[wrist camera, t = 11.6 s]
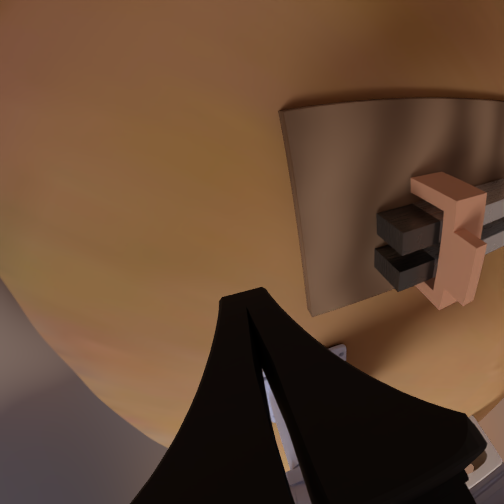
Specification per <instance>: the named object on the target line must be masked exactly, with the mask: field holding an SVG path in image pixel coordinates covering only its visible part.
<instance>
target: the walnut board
mask: <svg viewBox="0 0 504 504" xmlns="http://www.w3.org/2000/svg"><path fill="white" fill-rule="evenodd" d="M279 117H280V122H281V128H282V133H283V139H284V144H285V150H286V156H287V162H288V168H289V174H290V181H291V187H292V194H293V200H294V207H295V214H296V221H297V228H298V235H299V242H300V250H301V257H302V265H303V273H304V282H305V290H306V299H307V308H308V310H309V312H310V314H311V316H312V317H314V316H317V315H320V314H323V313H327V312H330V311H333V310H336V309H339V308H342V307H345V306H348V305H350V304H353V303H356V302H359V301H362V300H365V299H368V298H370V297H373V296H376V295H379V294H381V293H384V292H387V291H390V290H392V289H395V288H394V287H393V286H392V285H391V284H390V283H389V282H388V281H387V280H386V279H385V278H384V277H383V276H382V275H381V273H380V272H379V271H378V270H377V269H376V268H375V267H374V249H375V248H378V247H381V246H385V245H388V243H386V242H385V241H384V240H383V239H382V238H381V237H379V236H378V235H377V220H376V213H380V212H384V211H387V210H391V209H394V208H398V207H402V206H405V205H409V204H413V203H416V202H420V201H423V200H424V199H422V198H420V197H418V196H417V195H415V194H413V193H411V178H412V177H417V176H422V175H427V174H432V173H437V172H444V173H446V174H448V175H451V176H453V177H455V178H457V179H459V180H462V181H464V182H466V183H468V184H470V185H472V186H474V187H475V186H478V185H482V184H486V183H489V182H493V181H497V180H500V179H504V101H497V100H485V99H470V98H390V99H373V100H360V101H349V102H339V103H330V104H322V105H314V106H307V107H300V108H294V109H287V110H281V111H279Z"/></svg>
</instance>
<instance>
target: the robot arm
mask: <svg viewBox="0 0 504 504" xmlns="http://www.w3.org/2000/svg"><path fill="white" fill-rule="evenodd" d="M271 420H272V422H274V423H276V424H277V427H278V431H279V434H280V437H281V441H282V444H283V447H284V451H285V454H286V457H287V460H288V464H289V467H290V471H288V472H286V473H285V470H284V467H283V463H282V460H281V457H280V453H279V450H278V446H277V443H276V440H275V435H274V431H273V427H272V422H271ZM486 447H487V442H486V440H485V439H484V437H483V436H482V434H481V433H480V431H479V430H478V428H477V427H476V426H475V424H474V423H473V422H472V421H471V420H470V419H469V418H468V417H467V415H466V414H465V413H461V412H457V411H454V410H450V409H447V408H444V407H441V406H438V405H435V404H432V403H429V402H426V401H423V400H421V399H418V398H416V397H413V396H411V395H408V394H406V393H403V392H401V391H399V390H397V389H395V388H393V387H391V386H389V385H387V384H385V383H383V382H381V381H379V380H377V379H375V378H373V377H371V376H369V375H367V374H366V373H364V372H362V371H361V370H359V369H357V368H355V367H354V366H352V365H351V364H349V363H348V362H346V346H345V345H344V344H340V345H337V346H334V347H331V348H328V349H327V348H326V347H325V346H323V345H322V344H321V343H320V342H318V341H317V340H316V339H315V338H313V337H312V336H311V335H310V334H309V333H307V332H306V331H305V330H304V329H303V328H302V327H301V326H300V325H298V324H297V323H296V322H295V321H294V320H293V319H292V318H291V317H290V316H289V315H288V314H287V313H286V312H285V311H284V310H283V309H282V308H281V307H280V306H279V305H278V304H277V302H276V301H275V300H274V299H273V298H272V297H271V295H270V294H269V293H268V291H267V290H266V289H265V288H263V287H260V288H256V289H252V290H248V291H244V292H240V293H237V294H233V295H229V296H225V297H222V298H221V299H220V301H219V313H218V320H217V325H216V330H215V335H214V339H213V343H212V347H211V351H210V354H209V357H208V361H207V364H206V367H205V370H204V373H203V376H202V379H201V382H200V384H199V387H198V390H197V392H196V395H195V397H194V399H193V402H192V404H191V406H190V409H189V411H188V413H187V415H186V417H185V419H184V421H183V423H182V425H181V427H180V429H179V431H178V433H177V435H176V437H175V438H174V440H173V442H172V444H171V445H170V447H169V449H168V450H167V452H166V453H165V455H164V457H163V459H162V460H161V462H160V463H159V465H158V466H157V468H156V469H155V471H154V472H153V474H152V475H151V477H150V478H149V480H148V481H147V482H146V484H145V485H144V486H143V488H142V489H141V490H140V491H139V493H138V494H137V496H136V497H135V498H134V499H133V500H132V502H131V503H130V504H504V463H502V464H501V465H500V466H499V467H497V468H496V469H495V470H494V471H493V472H491V473H490V474H489V475H488V476H486V477H485V478H484V479H482V480H481V481H480V482H478V483H477V484H476V485H474V486H473V487H472V488H470V489H468V487H467V485H466V483H465V482H467V481H468V480H469V477H468V475H467V473H466V472H465V470H464V469H465V468H466V467H467V466H468V465H469V464H471V463H472V462H473V461H474V460H475V459H476V458H477V457H478V456H479V455H481V454H482V453H483V452H484V450H485V449H486ZM287 479H288V480H287Z"/></svg>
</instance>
